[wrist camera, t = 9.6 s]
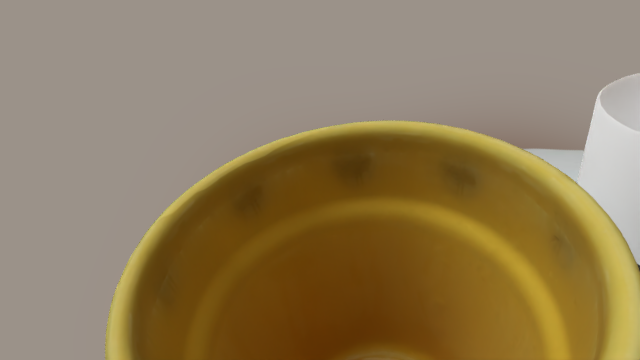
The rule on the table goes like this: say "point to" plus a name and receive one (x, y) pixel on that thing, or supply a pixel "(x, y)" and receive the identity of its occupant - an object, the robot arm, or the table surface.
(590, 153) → the cup
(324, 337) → the flower pot
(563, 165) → the table surface
